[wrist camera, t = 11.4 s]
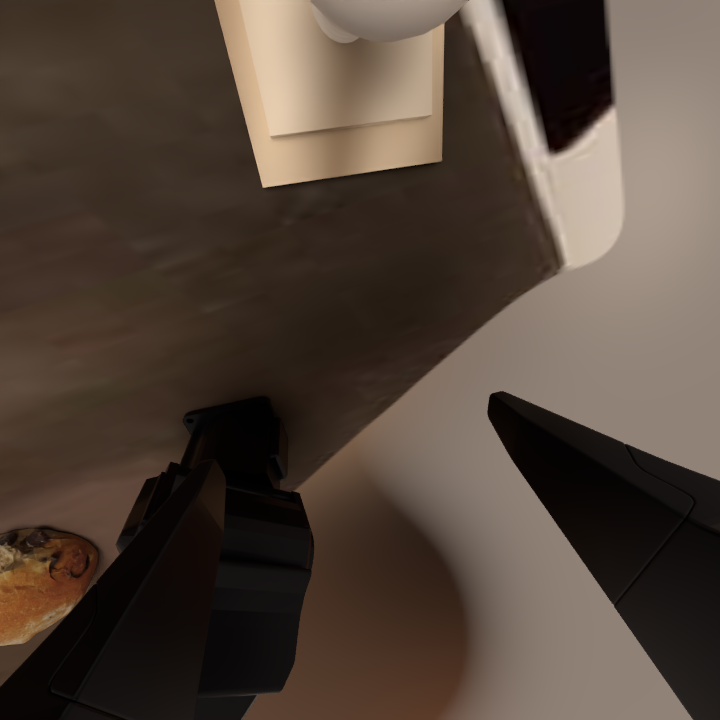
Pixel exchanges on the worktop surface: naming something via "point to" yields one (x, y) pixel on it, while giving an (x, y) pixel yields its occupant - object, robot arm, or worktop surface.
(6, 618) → the bread roll
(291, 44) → the base
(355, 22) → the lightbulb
